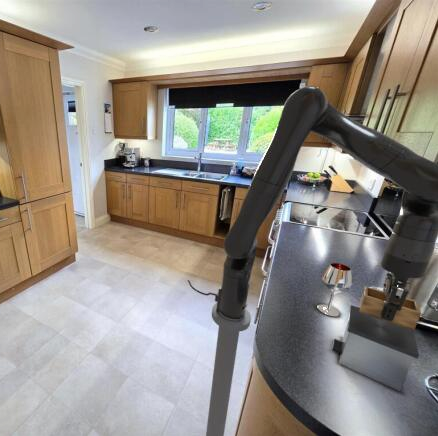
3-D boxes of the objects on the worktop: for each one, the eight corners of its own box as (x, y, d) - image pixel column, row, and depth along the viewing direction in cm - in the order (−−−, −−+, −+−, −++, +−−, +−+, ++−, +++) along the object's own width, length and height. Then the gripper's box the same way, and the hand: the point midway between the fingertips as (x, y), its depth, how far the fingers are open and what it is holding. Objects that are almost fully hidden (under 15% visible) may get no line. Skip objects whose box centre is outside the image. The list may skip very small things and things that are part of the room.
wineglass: (338, 307, 90) (351, 264, 85) (345, 321, 83) (359, 275, 78) (313, 301, 93) (323, 259, 88) (317, 314, 86) (328, 269, 81)
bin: (330, 360, 68) (340, 325, 64) (334, 334, 77) (344, 302, 74) (402, 393, 59) (419, 355, 55) (397, 360, 68) (412, 325, 65)
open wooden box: (359, 311, 64) (364, 295, 62) (360, 301, 68) (364, 285, 67) (413, 330, 58) (421, 313, 56) (410, 317, 62) (417, 301, 60)
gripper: (384, 240, 65) (366, 294, 70) (386, 258, 55) (366, 320, 60) (425, 248, 60) (403, 305, 65) (436, 270, 50) (409, 335, 55)
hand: (385, 312), depth 63 cm, fingers closed on open wooden box, 6 cm apart
